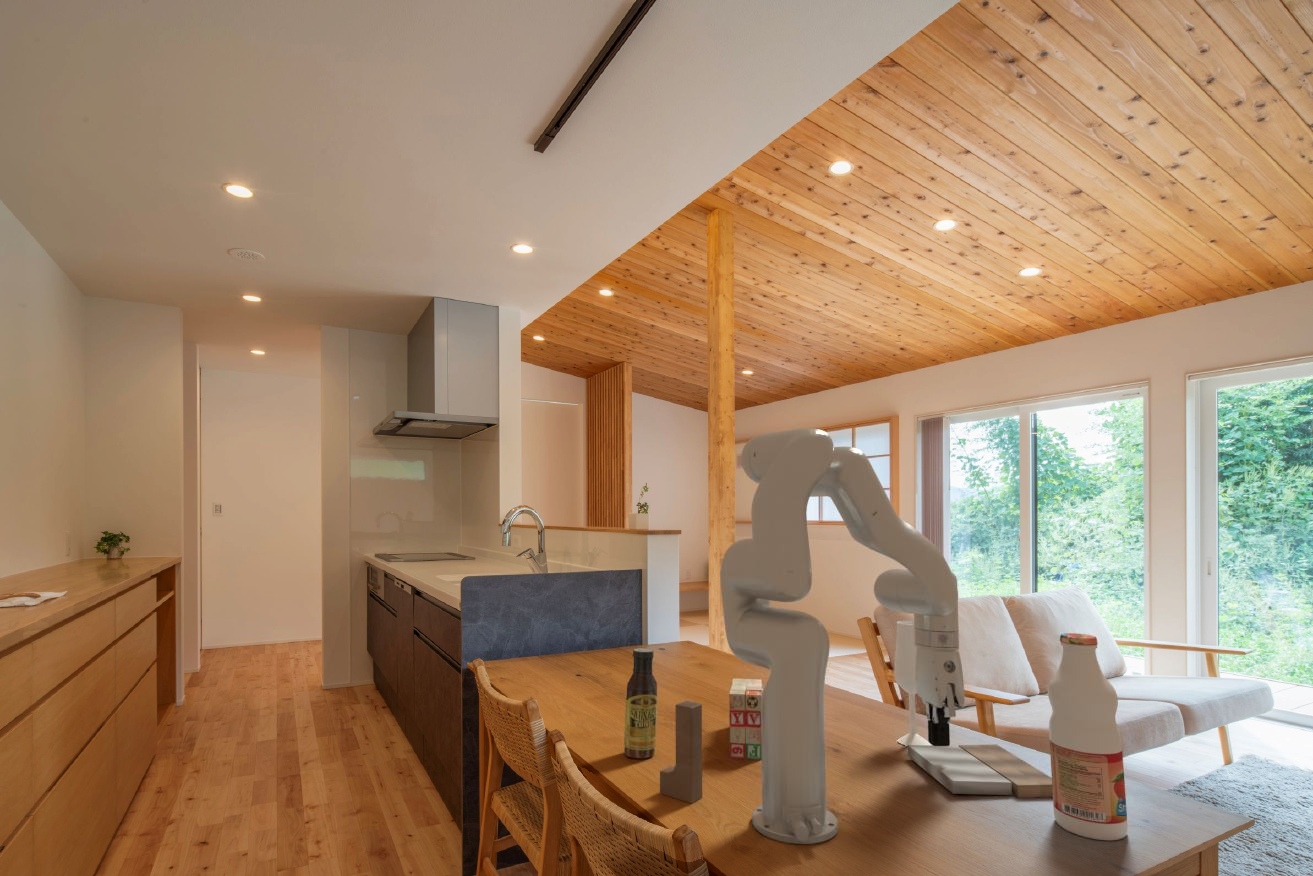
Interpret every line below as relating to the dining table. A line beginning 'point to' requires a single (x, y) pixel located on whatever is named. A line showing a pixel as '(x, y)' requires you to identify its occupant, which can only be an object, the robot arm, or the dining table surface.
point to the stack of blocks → (745, 718)
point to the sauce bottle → (641, 707)
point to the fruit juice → (1086, 745)
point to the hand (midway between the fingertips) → (939, 744)
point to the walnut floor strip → (1013, 770)
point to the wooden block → (685, 756)
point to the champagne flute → (907, 676)
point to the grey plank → (959, 770)
